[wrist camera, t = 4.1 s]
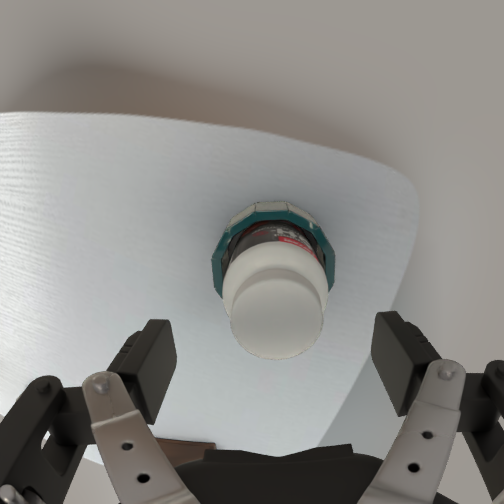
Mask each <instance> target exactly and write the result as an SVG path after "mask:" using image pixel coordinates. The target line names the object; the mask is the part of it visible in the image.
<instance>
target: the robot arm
mask: <svg viewBox="0 0 504 504" xmlns="http://www.w3.org/2000/svg"><path fill="white" fill-rule="evenodd" d="M371 356H372V360H373V363H374V365H375V367H376V369H377V371H378V373H379V376H380V378H381V380H382V382H383V384H384V386H385V389H386V391H387V393H388V395H389V397H390V400H391V402H392V404H393V406H394V409H395V411H396V413H397V415H398V417H401V416H405V415H407V416H406V418H405V420H404V422H403V425H402V427H401V429H400V431H399V433H398V435H397V437H396V439H395V441H394V443H393V445H392V447H391V449H390V450H389V452H388V454H387V456H386V458H385V460H382V459H379V458H376V457H373V456H369V455H365V454H358V453H353V449H352V445H351V444H344V445H336V446H326V447H316V448H312V449H309V450H305V451H302V452H298V453H294V454H290V455H286V456H282V457H274V456H268V455H262V454H257V453H252V452H247V451H242V450H215V449H205V451H204V457H203V459H198V460H193V461H189V462H186V463H183V464H180V465H178V466H176V467H174V468H173V466H172V465H171V463H170V462H169V460H168V459H167V457H166V455H165V454H164V452H163V451H162V449H161V447H160V446H159V444H158V442H157V441H156V439H155V437H154V436H153V434H152V432H151V431H150V429H149V427H148V425H147V424H150V425H154V423H155V421H156V418H157V415H158V413H159V410H160V407H161V405H162V402H163V399H164V397H165V394H166V391H167V389H168V386H169V384H170V381H171V378H172V376H173V373H174V371H175V368H176V363H177V354H176V349H175V344H174V338H173V333H172V328H171V323H170V321H169V320H164V319H150V320H149V321H148V323H147V324H146V326H145V327H144V329H143V330H142V331H137V332H136V333H134V334H133V335H131V336H130V337H128V339H127V340H126V342H125V343H124V345H123V346H122V348H121V349H120V351H119V353H118V354H117V355H116V357H115V358H114V360H113V361H112V363H111V364H110V366H109V367H108V369H107V370H106V371H103V372H97V373H95V374H92V375H90V376H89V377H88V378H86V379H85V380H84V382H83V384H82V386H81V387H68V388H63V386H62V383H61V381H60V379H59V378H57V377H55V376H50V375H49V376H42V377H39V378H37V379H35V380H33V381H32V382H31V383H30V384H29V385H28V387H27V388H26V389H25V391H24V392H23V393H22V394H21V396H20V397H19V398H18V400H17V401H16V402H15V404H14V405H13V407H12V408H11V409H10V411H9V412H8V413H7V415H6V416H5V417H4V419H3V421H2V422H1V423H0V504H63V501H64V499H65V496H66V494H67V492H68V489H69V487H70V484H71V482H72V480H73V477H74V475H75V472H76V470H77V468H78V466H79V463H80V461H81V459H82V456H83V454H84V452H85V449H86V447H87V445H90V444H97V447H98V450H99V452H100V455H101V458H102V460H103V463H104V466H105V468H106V470H107V473H108V475H109V478H110V480H111V482H112V485H113V487H114V490H115V492H116V494H117V496H118V499H119V501H120V503H119V504H458V503H456V502H454V501H452V500H451V499H449V498H447V497H445V496H443V495H442V494H440V493H438V492H437V489H438V486H439V484H440V481H441V479H442V476H443V473H444V470H445V467H446V464H447V461H448V458H449V455H450V451H451V449H452V445H453V441H454V438H455V435H456V432H462V434H463V436H464V438H465V440H466V442H467V444H468V446H469V449H470V451H471V453H472V455H473V457H474V459H475V462H476V464H477V466H478V468H479V470H480V473H481V475H482V477H483V480H484V482H485V484H486V487H487V489H488V492H489V494H490V496H491V499H492V504H504V430H503V428H502V427H501V425H500V423H499V422H498V419H499V417H500V416H502V417H503V419H504V361H502V360H495V361H491V362H490V363H488V364H487V366H486V369H485V371H484V373H466V371H465V369H464V368H463V366H461V365H460V364H459V363H457V362H455V361H452V360H448V359H442V358H441V357H440V355H439V354H438V353H437V352H436V350H435V349H434V347H433V346H432V345H431V343H430V342H428V340H427V338H426V337H425V336H424V335H423V333H422V332H421V331H420V329H419V328H418V327H416V326H415V325H413V324H411V323H410V322H404V320H403V319H402V318H401V316H400V315H399V314H398V313H397V311H387V312H378V313H377V314H376V317H375V324H374V332H373V338H372V345H371ZM47 431H49V433H50V436H49V438H48V440H47V442H46V444H45V445H44V447H43V449H42V450H41V442H42V439H43V438H44V436H45V434H46V432H47Z"/></svg>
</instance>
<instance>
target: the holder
mask: <svg viewBox="0 0 504 504" xmlns="http://www.w3.org/2000/svg"><path fill="white" fill-rule="evenodd" d="M155 439H156V441H157V442H158V444H159V446H160V447H161V449H162V451H163V452H164V454H165V455H166V457H167V459H168V460H169V462H170V463H171V465H172V466H173V468H174V467H176V466H178V465H180V464H183V463H186V462H189V461H193V460H198V459H203V457H204V451H205V449H215V450H216V445H215V443H201V442H188V441H177V440H168V439H159V438H155Z"/></svg>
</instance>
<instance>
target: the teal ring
mask: <svg viewBox="0 0 504 504" xmlns="http://www.w3.org/2000/svg"><path fill="white" fill-rule="evenodd" d="M267 220H288V221H290V222H292V223H294V224H296V225H298V226H299V227H301V228H303V229H305V230H307V231H309V232H311V233H312V234H313V236H314V238H315V239H316V241H317V258H318V260H319V262H320V264H321V266H322V268H323V270H324V272H325V275H326V279H327V283H328V293H329V291H330V290H331V288H332V286H333V283H334V276H335V253H334V250H333V248H332V247H331V245H330V243H329V242H328V240H327V238H326V236H325V235H324V233H323V231H322V230H321V228H320V226H319V225H318V224H317V222H316V221H315V220H314V218H313V217H312V216H311V215H310V214H309V213H307V212H305V211H303V210H301V209H299V208H297V207H296V206H294V205H292V204H290V203H288V202H286V203H285V201H277V202H257V204H256V203H254V204H253V205H251V206H250V207H248V208H246V209H245V210H243V211H242V212H240V213H239V214H237V215H235V216H234V217H233V218H232V219H231V220H230V222H229V224H228V225H227V227H226V229H225V231H224V233H223V235H222V237H221V239H220V241H219V243H218V245H217V247H216V249H215V251H214V253H213V255H212V259H211V261H212V272H213V281H214V288H215V290H216V291H217V293H218V294H219V295H220V297H221V298H222V299H223V296H222V290H223V281H224V277H225V275H226V272H227V269H228V266H229V253H228V246H229V244H230V242H231V240H232V238H233V236H234V235H236V234H237V233H239V232H241V231H242V230H244V229H245V228H247V227H249V226H250V225H252V224H253V223H255V222H257V221H267Z"/></svg>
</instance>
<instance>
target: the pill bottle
mask: <svg viewBox="0 0 504 504" xmlns="http://www.w3.org/2000/svg"><path fill="white" fill-rule="evenodd" d="M222 296H223V303H224V307H225V310H226V312H227V314H228V316H229V318H230V324H231V329H232V332H233V334H234V337H235V338H236V340H237V341H238V343H239V344H240V345H241V346H242V347H243V348H244V349H245V350H247V351H248V352H250V353H251V354H253V355H255V356H258V357H261V358H264V359H271V360H282V359H287V358H291V357H294V356H297V355H299V354H301V353H303V352H304V351H306V350H307V349H308V348H309V347H311V346H312V345H313V344H314V342H315V341H316V340H317V338H318V336H319V334H320V332H321V330H322V326H323V312H324V310H325V308H326V304H327V300H328V283H327V279H326V275H325V272H324V270H323V268H322V266H321V264H320V262H319V260H318V258H317V256H316V254H315V252H314V250H313V247H312V245H311V243H310V241H309V239H308V238H307V236H306V234H305V233H304V232H303V231H302V230H301V229H300V228H299V227H298V226H297V225H295V224H294V223H292V222H290V221H287V220H267V221H257V222H255V223H254V224H252V225H250V226H249V227H248V228H247V229H246V230H245V231H244V232H243V233H242V234H241V236H240V238H239V239H238V241H237V244H236V246H235V249H234V252H233V255H232V258H231V261H230V264H229V266H228V269H227V272H226V275H225V277H224V281H223V290H222Z"/></svg>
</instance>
